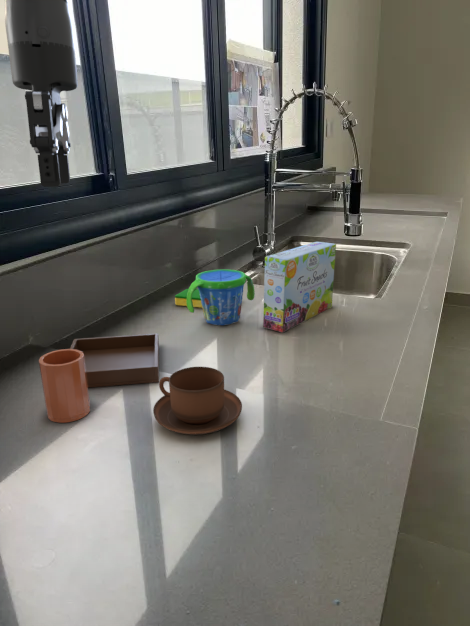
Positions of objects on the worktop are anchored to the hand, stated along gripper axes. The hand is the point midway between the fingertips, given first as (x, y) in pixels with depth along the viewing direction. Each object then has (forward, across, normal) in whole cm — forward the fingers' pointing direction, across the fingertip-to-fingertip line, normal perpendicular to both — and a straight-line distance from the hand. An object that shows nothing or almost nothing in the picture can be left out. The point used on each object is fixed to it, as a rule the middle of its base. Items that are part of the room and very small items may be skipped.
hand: (56, 184), depth 64 cm
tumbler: (+31, +3, -1) cm, 31 cm away
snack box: (+30, -30, +43) cm, 60 cm away
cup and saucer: (+31, +9, +17) cm, 36 cm away
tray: (+31, -12, +4) cm, 33 cm away
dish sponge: (+30, -44, +24) cm, 59 cm away
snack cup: (+30, -31, +26) cm, 51 cm away
